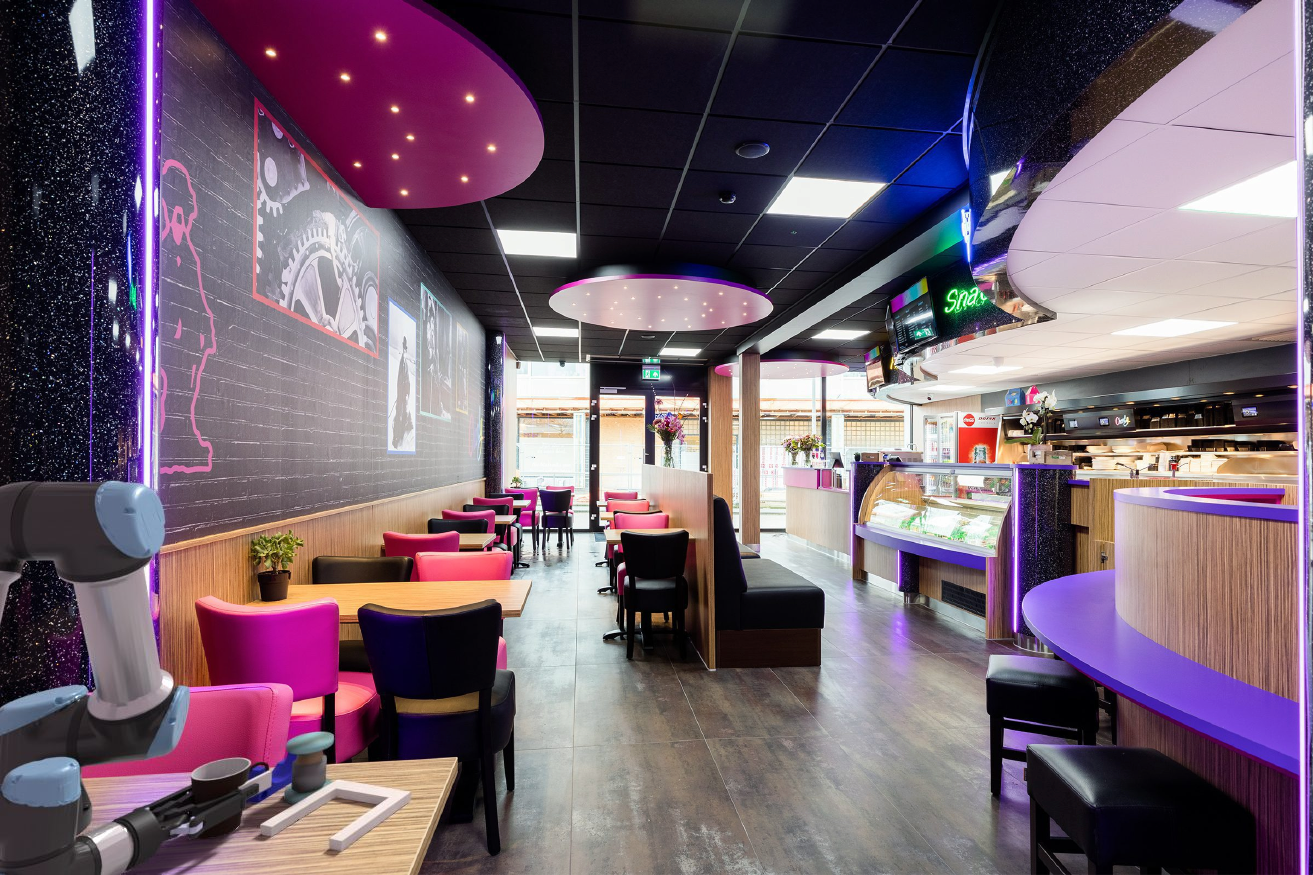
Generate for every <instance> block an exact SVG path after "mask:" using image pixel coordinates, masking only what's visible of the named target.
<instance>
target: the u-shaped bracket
mask: <svg viewBox="0 0 1313 875" xmlns="http://www.w3.org/2000/svg"><path fill="white" fill-rule="evenodd" d="M335 798H339V799H343V800H351V801H355V802H362V803H366V804H367V803H368V804H372V805H373V804H374V805H376V806H374V807H372V808H371V809H370V810H369V811H367V812H366V813H364V814H363V815H361V816H359V817H358V818H357V819H355V820H354V821H353V822H351V823H349V824H348V825H347V826H345V827H344V828H342V829H341V830H340V831H338V832H336V834H333V835H332V836H331V837H330V838H329V841H328V842H329V844H328V849H329V850H333V851H338V852H343V851H344V850H345V849H347V848H348V847H349V846H351V845H353V843H355V842H356V841H358V840H359V839H361V838H362V837H363V836H364V835H366V834H368V833H369V832H370V831H372V829H375V827H376V826H378V825H379V824H381V823H382V822H383V821H385V820H386V819H388V818H389V817H391V816H392V815H394V813H397V811H399V810H400V809H401V808H403V807H404V806H405V805H407V804H408V803H410V802H411V800H412V799H411V798H412V791H409V790H402V789H397V788H391V787H385V786H378V785H374V784H373V785H372V784H366V783H363V782H362V783H361V782H354V781H348V780H343V779H336V780H334V781H332V783H331V784H329V785H327V786H326V787H324V788H322V789H320V790H319V791H317V792H315V793H314V794H312V795H310V796H308V797H307V798H305V799H303V800H302V801H300V802H298V803H296V804H292V805H291V806H290V807H288V808H286V809H284V810H283V811H281V812H280V813H278V814H276V815H274V816H273V817H271V818H269V819H267V820H266V821H264V822H262V823H261V824H260V829H259V830H260V831H259V835H261V834H262V836H266V837H273V836H275V835H276V834H278V833H280V832H281V830H282V831H283V830H285V829H287V828H288V827H289V825H290V824H291V825H293V824H294V822H295V821H296V822H298V821H299V820H301V819H303V818H304V817H306V816H308V815H309V814H311V813H312V812H314V811H315V810H317V809H319V808H320V807H323V806H324V805H325V804H327V803H329V802H330V801H331V800H334V799H335ZM409 801H410V802H409ZM310 812H311V813H310ZM308 813H309V814H308ZM307 814H308V815H307ZM305 815H306V816H305ZM302 817H303V818H302ZM300 818H301V819H300ZM298 819H299V820H298ZM297 820H298V821H297ZM296 822H295V823H296ZM292 823H293V824H292ZM291 825H290V826H291ZM287 826H288V827H287ZM284 828H285V829H284Z"/></svg>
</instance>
